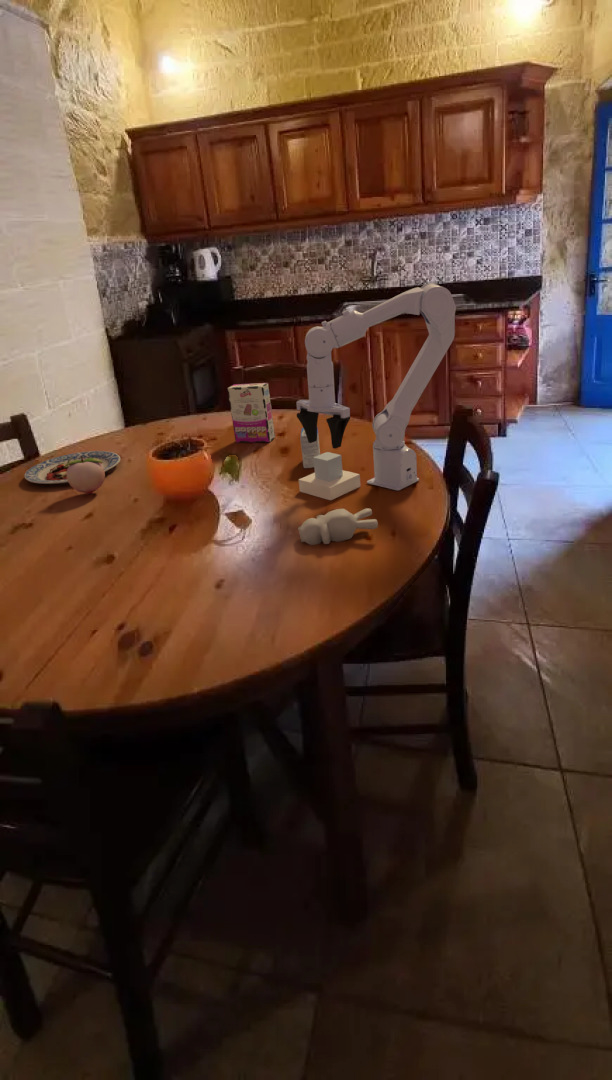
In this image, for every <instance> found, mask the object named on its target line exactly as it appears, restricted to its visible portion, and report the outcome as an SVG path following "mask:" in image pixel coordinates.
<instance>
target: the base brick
mask: <svg viewBox="0 0 612 1080" xmlns="http://www.w3.org/2000/svg"><path fill="white" fill-rule="evenodd" d="M342 471H343V476H341V477H339V478H337V479H334V480H332V481H330V482H328V481H324V480H321V479H317V478H315V472H312V473H310V474H308V475H306V476H304V477H300V478H298V486H299V492H300V493H303V494H307V495H311V496H314V497H316V498H317V497H318V498H321V499H324V500H327V501H333V500H334V499H336V498H339V497H341V496H343V495H346V494H348V493H349V492H351V491H354V490H356V489H358V488H360V487H361V476H360V475H361V474H359V473H356V472H352V471H348V470H343V469H342Z"/></svg>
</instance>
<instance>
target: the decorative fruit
mask: <svg viewBox="0 0 612 1080" xmlns="http://www.w3.org/2000/svg"><path fill="white" fill-rule="evenodd" d="M81 460H82V461H80V460H74V461H71V462H69V463H67V464H66V465H65V466H64V468H65V467H66V466H68V465H70V464H71V465H70V466H69V467H68V469H67V480H68V482H69V483H68V484H69V486H71V488H73V490H75V491H77V492H79V493H83V494H88V495H89V494H90V495H91V494H92V493H94V492H96V491H97V490H99V489H100V488H101V487H102V486H103V484H104V482H105V477H106V471H105V472H104V469H103V466H102V465H101V464H100V463H99V462H101V463H103V462H102V461H101V460H99V459H96V458H88V459H85V460H83V458H82V456H81Z"/></svg>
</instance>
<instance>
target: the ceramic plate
mask: <svg viewBox="0 0 612 1080" xmlns="http://www.w3.org/2000/svg"><path fill="white" fill-rule="evenodd" d="M81 456H82V458H83V460H85V459H88V458H96V459H99V460H101V461H102V462H103V463H101V462H99V463H100V464H101V465H102V466H103V469H104V472H105V473H106V472H107V471H110V470H111V469H113V468H114V467H116V466H117V465H118V464H119V463H120V461H121V456H120V455H119V454H117V453H116V452H112V451H106V450H91V451H90V450H89V451H81V452H80V451H79V452H74V453H68V454H64V455H60V456H56V457H52V458H50V459H47V460H44V461H41V462H39V463H37V464H35V465H34V466H31V467H30V468H29V469H27V470H26V472H25V473H24V479H25V480H26V481H28V482H30V483H35V484H44V485H45V484H47V485H48V484H49V485H53V484H57V485H58V484H67V483H68V484H69V482H68V480H67V469H68V467H69V466H70V465H71V464H70V465H68V466H66V467H65V468H64V466H65V465H66V464H67V463H69V462H71V461H74V460H80V461H82V460H81Z"/></svg>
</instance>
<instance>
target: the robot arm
mask: <svg viewBox="0 0 612 1080" xmlns="http://www.w3.org/2000/svg"><path fill="white" fill-rule="evenodd" d="M456 310H457V306H456V303H455V300H454V298H453V295H452V293H451V291H450V290H449V289H448V288H446V287H444V286H440V285H439V284H438V283H433V282H429V283H425V284H424V285H422V286H421V287H419V286H417V287H414V288H411V289H408V290H406V291H404V292H401V293H400V294H398V295H395V296H394V297H392V298H389V299H387V300H385V301H383V302H381V303H380V304H377V305H375V306H373V307H372V308H370V309H368V310H365V311H364V312H359V311H358V310H354V309H353V310H351V311H349V309H346V310H344V311H342V312H341V313H342V315H340V316H338V317H336V318H333V319H332V320H330V321H326V320H324V321H321V325H322V326H319V325H318V326H314V327H311V328H310V329H309V330H308V331H307V332H306V334H305V339H304V345H305V346H304V347H305V349H306V352H307V353H306V361H307V363H306V372H307V388H308V390H307V391H308V399H300V400H297V401H296V410H297V411H299V412H297V413H296V418H297V419H298V421H299V422H300V424H301V425H302V428H304V430H305V433H306V436H307V439H308V442H309V443H312V442H315V441H317V427H318V420H319V416H320V415H319V414H323V415H329V416H331V417H328V418H325V419H326V423H327V426H328V429H329V431H330V440H331V446H332V449H334V450H335V449H338V448H341V447H342V442H343V438H344V434H345V430H346V428H347V426H348V423H349V421H350V420H351V411H350V410H351V409H350V407H348V406H345V405H342V404H340V403H336V395H335V394H336V393H335V378H334V377H335V376H334V362H333V361H332V351H333V349H339V348H342V347H344V346H346V345H348V344H350V343H352V342H354V341H357V340H360V339H361V338H364V337H365V335H366V332H367V331H368V329H369V328H371V327H373V326H375V325H378V324H380V323H383V322H385V321H388V320H390V319H393V318H395V317H397V316H399V315H402V314H409V315H410V314H411V315H415V316H416V315H417V316H420V314H421V316H422V317H423V319H424V321H425V322H424V323H425V325H426V329H427V332H428V336H427V338H426V340H425V341H424V342H423V345H422V347H421V349H420V350H419V352H418V354H417V356H416V357H415V358H414V361H413V362H412V364H411V366H410V368H409V369H408V372H407V373H406V375H405V376H404V377H403V378H404V379H403V380H402V382H401V383H400V385H399V387H398V389H397V390H396V392H395V394H394V396H393V397H392V399H391V400H390V401H389V402H388V403H387V404H386V405H385V407H384V409H383V410H382V411H381V412H379V413H377V414H376V416H374V418H373V420H372V425H371V427H372V430H373V433H374V434H375V440H374V441H373V443H372V451H373V452H372V453H373V455H372V456H373V474H374V477H372V478H371V479H368V480H367V481H366V483H367V484H369V485H374V486H377V487H382V488H386V489H388V490H393V491H398V492H399V491H401V490H402V489H405V488H407V487H409V486H411V485H412V484H415V483H417V482H418V481H420V478H419V477H418V473H417V471H418V469H417V467H418V466H417V464H418V463H417V460H418V459H417V453H416V452H415V450H414V449H412V448H410V447H408V446H407V444H405V443H406V442H405V437H406V436H405V433H406V428H407V427H408V424H409V423H410V419H411V415H412V412H413V410H414V408H415V406H416V405H417V404H418V401H419V399H420V398H421V396H422V393H424V391H425V389H426V388H427V386H428V384H429V382H430V381H431V378H432V377H433V375H434V373H435V372H436V370H437V369H438V366H440V363H441V362H442V360H443V358H444V357H445V355H446V353H447V351H448V350H449V348H450V346H451V345H452V343H453V341H454V339H455V335H456V333H455V332H456V329H455V328H456V325H455V324H456V322H455V320H456V316H455V315H456Z"/></svg>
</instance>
